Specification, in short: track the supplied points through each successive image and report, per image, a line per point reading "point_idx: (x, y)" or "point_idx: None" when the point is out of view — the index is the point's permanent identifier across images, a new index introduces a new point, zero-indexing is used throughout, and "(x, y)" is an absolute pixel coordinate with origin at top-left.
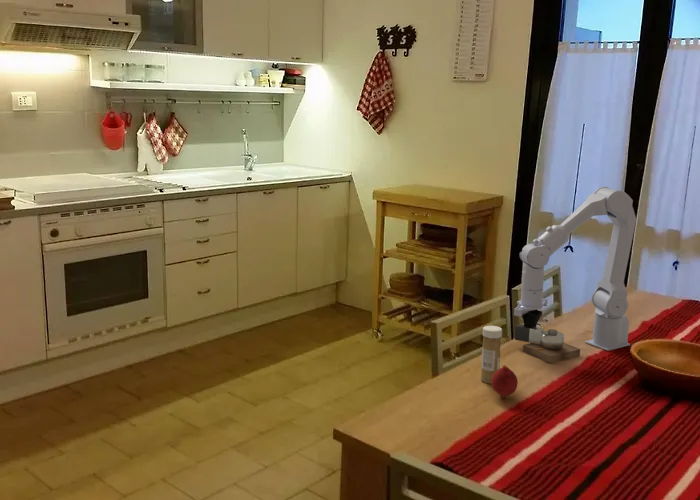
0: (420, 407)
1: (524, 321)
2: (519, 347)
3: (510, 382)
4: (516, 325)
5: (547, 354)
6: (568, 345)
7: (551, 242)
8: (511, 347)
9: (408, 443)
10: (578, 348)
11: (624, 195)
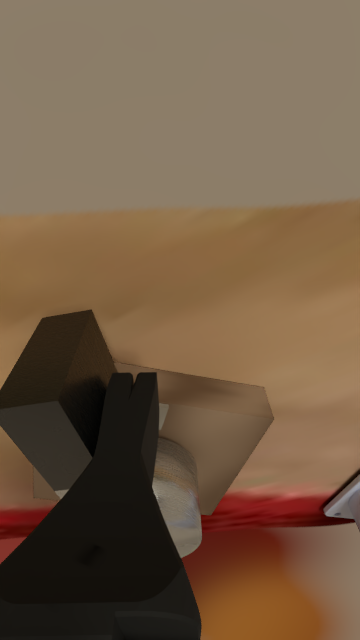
0: None
1: (87, 473)
2: (93, 304)
3: None
4: (5, 410)
5: (37, 485)
6: (219, 486)
7: None
8: (46, 272)
9: None
10: (212, 511)
11: None
